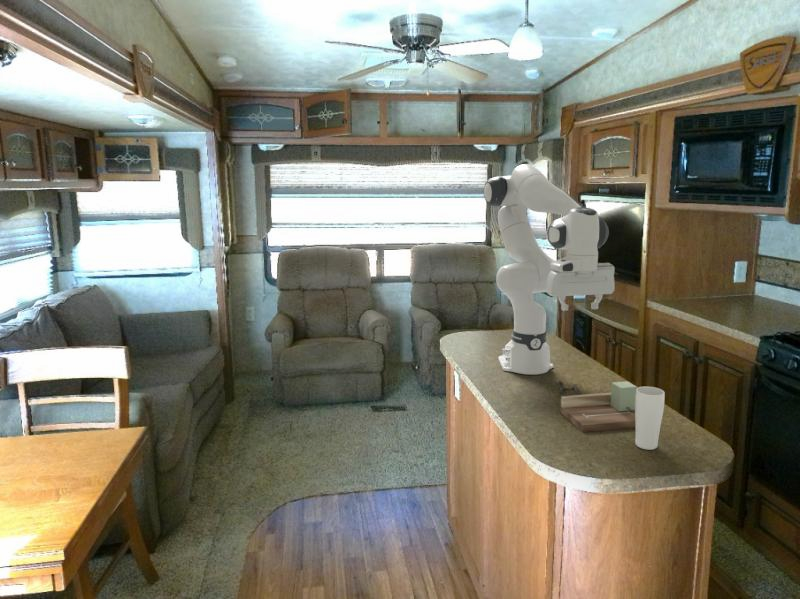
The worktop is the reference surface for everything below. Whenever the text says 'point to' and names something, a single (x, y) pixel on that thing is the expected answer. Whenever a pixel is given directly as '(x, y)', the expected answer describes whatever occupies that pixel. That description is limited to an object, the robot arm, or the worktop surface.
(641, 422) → the drinking glass
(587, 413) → the walnut board
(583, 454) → the worktop surface
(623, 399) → the block
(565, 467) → the worktop surface
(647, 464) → the worktop surface
